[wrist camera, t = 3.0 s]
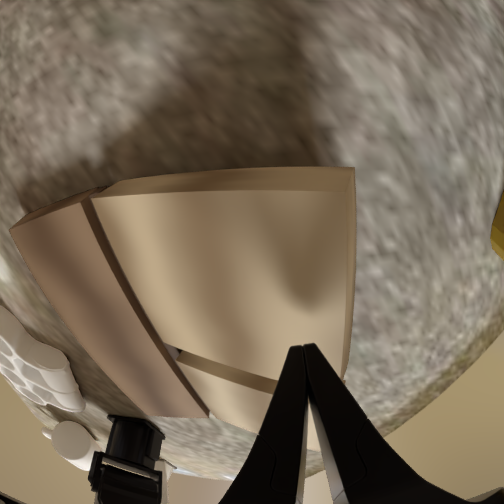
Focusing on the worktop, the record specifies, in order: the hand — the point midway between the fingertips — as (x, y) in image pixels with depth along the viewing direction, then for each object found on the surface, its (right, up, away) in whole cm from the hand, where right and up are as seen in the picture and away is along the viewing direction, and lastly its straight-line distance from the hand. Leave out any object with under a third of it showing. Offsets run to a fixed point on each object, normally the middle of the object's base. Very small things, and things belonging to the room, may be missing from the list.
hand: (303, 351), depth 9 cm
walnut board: (-11, -3, +11) cm, 16 cm away
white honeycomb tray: (-28, -9, +16) cm, 34 cm away
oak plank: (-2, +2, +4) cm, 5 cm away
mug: (-36, -30, +29) cm, 55 cm away
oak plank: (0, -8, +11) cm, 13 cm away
